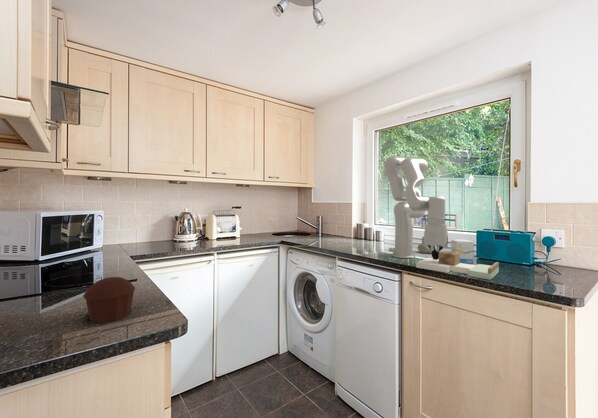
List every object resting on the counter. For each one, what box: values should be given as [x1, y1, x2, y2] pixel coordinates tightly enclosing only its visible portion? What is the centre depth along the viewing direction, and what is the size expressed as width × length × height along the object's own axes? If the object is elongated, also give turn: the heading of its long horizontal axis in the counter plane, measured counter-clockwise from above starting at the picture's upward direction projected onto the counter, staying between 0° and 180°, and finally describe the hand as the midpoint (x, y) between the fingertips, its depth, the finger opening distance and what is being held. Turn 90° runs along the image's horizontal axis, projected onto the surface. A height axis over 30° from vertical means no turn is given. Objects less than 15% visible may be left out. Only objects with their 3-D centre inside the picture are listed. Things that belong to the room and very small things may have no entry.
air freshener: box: [417, 236, 437, 255], centre depth 175 cm, size 11×8×10 cm
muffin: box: [82, 276, 136, 324], centre depth 74 cm, size 12×11×10 cm
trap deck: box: [415, 256, 500, 281], centre depth 131 cm, size 30×18×4 cm, turn 46°
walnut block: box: [439, 250, 460, 266], centre depth 133 cm, size 7×7×5 cm
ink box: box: [450, 238, 475, 265], centre depth 148 cm, size 8×8×12 cm
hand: (435, 259), depth 137 cm, fingers closed
